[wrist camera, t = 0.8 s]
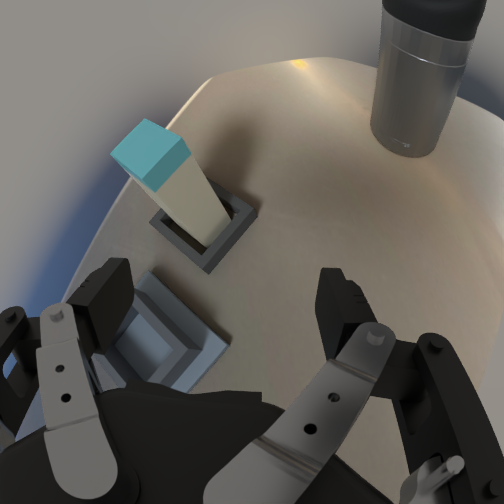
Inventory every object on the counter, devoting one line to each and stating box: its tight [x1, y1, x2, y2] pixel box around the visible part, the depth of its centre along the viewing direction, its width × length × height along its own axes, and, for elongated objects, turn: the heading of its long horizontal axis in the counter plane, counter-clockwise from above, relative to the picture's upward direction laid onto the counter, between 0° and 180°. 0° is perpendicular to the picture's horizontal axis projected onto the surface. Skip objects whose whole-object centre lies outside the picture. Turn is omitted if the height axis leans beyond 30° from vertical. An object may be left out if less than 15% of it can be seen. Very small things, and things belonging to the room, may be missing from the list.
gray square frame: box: [149, 178, 257, 274], centre depth 32 cm, size 8×9×2 cm
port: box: [93, 271, 230, 394], centre depth 27 cm, size 12×12×4 cm
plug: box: [110, 119, 232, 249], centre depth 26 cm, size 4×5×14 cm
